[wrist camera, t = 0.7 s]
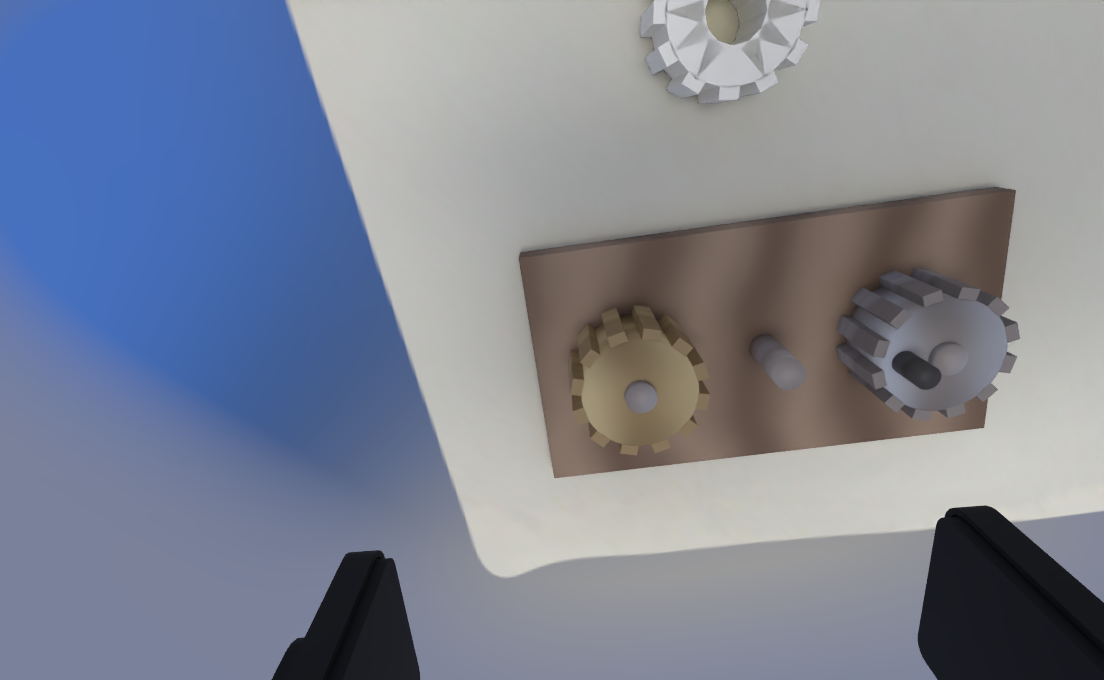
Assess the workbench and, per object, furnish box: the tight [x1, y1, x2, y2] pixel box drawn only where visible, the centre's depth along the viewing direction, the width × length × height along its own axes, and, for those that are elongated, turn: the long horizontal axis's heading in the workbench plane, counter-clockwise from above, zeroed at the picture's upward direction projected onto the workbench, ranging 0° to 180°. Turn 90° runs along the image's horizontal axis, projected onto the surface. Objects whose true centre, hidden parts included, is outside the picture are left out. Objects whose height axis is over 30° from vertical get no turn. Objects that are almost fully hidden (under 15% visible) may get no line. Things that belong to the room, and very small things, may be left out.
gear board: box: [519, 187, 1020, 478], centre depth 31 cm, size 26×14×8 cm, turn 98°
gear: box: [640, 0, 820, 103], centre depth 27 cm, size 7×7×4 cm
